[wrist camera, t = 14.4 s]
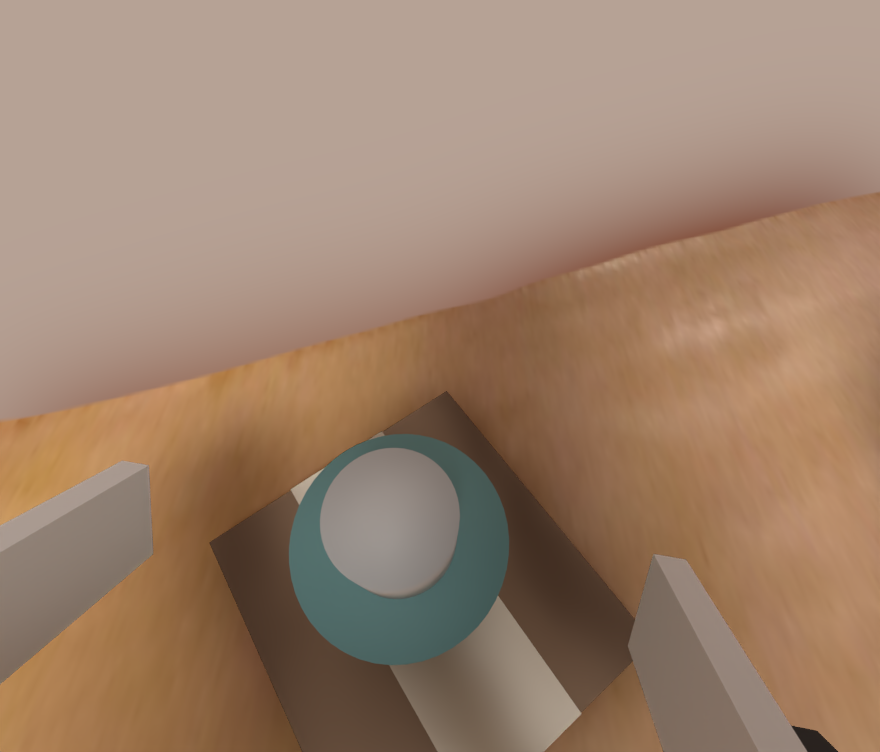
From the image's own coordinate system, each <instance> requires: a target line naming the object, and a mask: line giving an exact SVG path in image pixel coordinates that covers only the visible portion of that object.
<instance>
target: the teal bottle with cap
mask: <svg viewBox="0 0 880 752" xmlns="http://www.w3.org/2000/svg"><path fill="white" fill-rule="evenodd" d="M508 557H509V533H508V524H507V520H506V516H505V511H504V508H503V505H502V503H501V500H500V497H499V495H498V493H497V492H496V490H495V488H494V486H493V484H492V483H491V481H490V480H489V478H488V477H487V475H486V474H485V473H484V472H483V470H482V469H481V468H480V467H479V466H478V465H477V464H476V463H475V462H474V461H473V460H472V459H470V458H469V457H468V456H467V455H466V454H464V453H463V452H461V451H460V450H458V449H457V448H455V447H453V446H451V445H449V444H447V443H445V442H443V441H440V440H437V439H434V438H431V437H426V436H421V435H413V434H393V435H387V436H381V437H377V438H374V439H370V440H367V441H365V442H362V443H360V444H358V445H356V446H354V447H352V448H350V449H348V450H347V451H345V452H343V453H342V454H341V455H339V456H338V457H337V458H335V459H334V460H333V461H332V462H331V463H329V464H328V465H327V466H326V467H325V468H324V469H323V470H322V471H321V472H320V474H319V475H318V476H317V477H316V478H315V479H314V481H313V482H312V484H311V485H310V487H309V488H308V490H307V491H306V493H305V495H304V497H303V499H302V501H301V503H300V505H299V507H298V510H297V513H296V515H295V518H294V522H293V526H292V530H291V535H290V544H289V566H290V573H291V580H292V583H293V587H294V591H295V594H296V596H297V599H298V601H299V603H300V606H301V608H302V610H303V611H304V613H305V615H306V616H307V618H308V620H309V621H310V622H311V624H312V625H313V626H314V627H315V628H316V630H317V631H318V632H319V633H320V634H321V635H322V636H323V637H324V638H325V639H326V640H328V641H329V642H330V643H331V644H332V645H334V646H335V647H337V648H338V649H340V650H341V651H343V652H344V653H347V654H349V655H351V656H353V657H355V658H358V659H360V660H364V661H368V662H371V663H376V664H385V665H406V664H412V663H417V662H422V661H425V660H428V659H431V658H433V657H436V656H439V655H441V654H442V653H444V652H446V651H448V650H450V649H452V648H453V647H455V646H456V645H457V644H459V643H460V642H461V641H463V640H464V639H466V638H467V637H468V636H469V635H470V634H471V633H472V632H473V631H474V630H475V629H476V628H477V627H478V626H479V625H480V623H481V622H482V621H483V619H484V618H485V617H486V616H487V614H488V613H489V611H490V609H491V608H492V606H493V604H494V602H495V601H496V599H497V596H498V594H499V592H500V589H501V587H502V584H503V581H504V577H505V574H506V570H507V564H508Z"/></svg>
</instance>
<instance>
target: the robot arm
mask: <svg viewBox="0 0 880 752" xmlns="http://www.w3.org/2000/svg"><path fill="white" fill-rule="evenodd" d="M151 555H153V539H152V519H151V498H150V478H149V465H144V464H139V463H133V462H127V461H121V462H119V463H117V464H115V465H113V466H111V467H109V468H108V469H106V470H104V471H102V472H100V473H98V474H96V475H94V476H93V477H91V478H89V479H87V480H85V481H83V482H81V483H79V484H78V485H76V486H74V487H72V488H70V489H68V490H66V491H64V492H62V493H61V494H59V495H57V496H55V497H53V498H51V499H49V500H47V501H46V502H44V503H42V504H40V505H38V506H36V507H34V508H32V509H31V510H29V511H27V512H25V513H23V514H21V515H19V516H17V517H15V518H14V519H12V520H10V521H8V522H6V523H4V524H2V525H0V684H1V683H2V682H3V681H5V680H6V679H7V678H8V677H9V676H10V675H12V674H13V673H14V672H15V671H16V670H17V669H19V668H20V667H21V666H22V665H23V664H25V663H26V662H27V661H28V660H29V659H30V658H32V657H33V656H34V655H35V654H36V653H37V652H39V651H40V650H41V649H42V648H43V647H44V646H46V645H47V644H48V643H49V642H50V641H52V640H53V639H54V638H55V637H56V636H57V635H59V634H60V633H61V632H62V631H63V630H64V629H66V628H67V627H68V626H69V625H70V624H72V623H73V622H74V621H75V620H76V619H77V618H79V617H80V616H81V615H82V614H83V613H84V612H86V611H87V610H88V609H89V608H90V607H92V606H93V605H94V604H95V603H96V602H97V601H99V600H100V599H101V598H102V597H103V596H104V595H106V594H107V593H108V592H109V591H110V590H111V589H113V588H114V587H115V586H116V585H117V584H119V583H120V582H121V581H122V580H123V579H124V578H126V577H127V576H128V575H129V574H130V573H131V572H133V571H134V570H135V569H136V568H137V567H139V566H140V565H141V564H142V563H143V562H144V561H146V560H147V559H148V558H149V557H150V556H151ZM628 648H629V651H630V654H631V657H632V660H633V663H634V666H635V669H636V672H637V675H638V678H639V681H640V684H641V686H642V689H643V692H644V695H645V698H646V701H647V704H648V707H649V710H650V713H651V716H652V719H653V722H654V725H655V728H656V731H657V734H658V737H659V740H660V743H661V746H662V749H663V752H838V751H837V750H836V749H835V748H834V747H833V746H832V745H831V744H830V743H829V742H828V741H827V740H826V739H825V738H824V737H823V736H822V735H821V734H820V733H819V732H818V731H815V730H810V729H805V728H800V727H795V726H791V725H790V723H789V722H788V720H787V719H786V717H785V715H784V714H783V712H782V711H781V709H780V707H779V706H778V704H777V703H776V701H775V700H774V698H773V696H772V695H771V693H770V692H769V690H768V688H767V687H766V685H765V684H764V682H763V681H762V679H761V677H760V676H759V674H758V673H757V671H756V669H755V668H754V666H753V665H752V663H751V662H750V660H749V658H748V657H747V655H746V654H745V652H744V650H743V649H742V647H741V646H740V644H739V643H738V641H737V639H736V638H735V636H734V635H733V633H732V631H731V630H730V628H729V627H728V625H727V623H726V622H725V620H724V619H723V617H722V616H721V614H720V612H719V611H718V609H717V608H716V606H715V604H714V603H713V601H712V600H711V598H710V597H709V595H708V593H707V592H706V590H705V589H704V587H703V585H702V584H701V582H700V581H699V579H698V578H697V576H696V574H695V573H694V571H693V570H692V568H691V566H690V565H689V563H688V562H687V560H686V559H680V558H674V557H669V556H663V555H657V554H653V557H652V561H651V564H650V568H649V572H648V575H647V579H646V582H645V586H644V589H643V593H642V597H641V600H640V604H639V607H638V611H637V615H636V618H635V622H634V625H633V629H632V632H631V636H630V640H629V643H628Z"/></svg>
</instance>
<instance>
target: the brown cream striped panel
mask: <svg viewBox="0 0 880 752" xmlns="http://www.w3.org/2000/svg"><path fill="white" fill-rule="evenodd" d="M393 434H413V435H421V436H426V437H431V438H434V439H437V440H440V441H443V442H445V443H447V444H449V445H451V446H453V447H455V448H457V449H458V450H460V451H461V452H463V453H464V454H466V455H467V456H468V457H469V458H470V459H472V460H473V461H474V462H475V463H476V464H477V465H478V466H479V467H480V468H481V469H482V470H483V472H484V473H485V474H486V475H487V477H488V478H489V480H490V481H491V483H492V484H493V486H494V488H495V490H496V492H497V493H498V495H499V497H500V500H501V503H502V505H503V508H504V511H505V516H506V520H507V524H508V533H509V557H508V564H507V570H506V574H505V577H504V581H503V584H502V587H501V589H500V592H499V594H498V596H497V599H496V601H495V602H494V604H493V606H492V608H491V609H490V611H489V613H488V614H487V616H486V617H485V618H484V619H483V621H482V622H481V623H480V625H479V626H478V627H477V628H476V629H475V630H474V631H473V632H472V633H471V634H470V635H469V636H468V637H467V638H466V639H464V640H463V641H461V642H460V643H459V644H457V645H456V646H455V647H453V648H452V649H450V650H448V651H446V652H444V653H442V654H441V655H439V656H436V657H433V658H431V659H428V660H425V661H422V662H417V663H412V664H406V665H385V664H376V663H371V662H368V661H364V660H360V659H358V658H355V657H353V656H351V655H349V654H347V653H344V652H343V651H341V650H340V649H338V648H337V647H335V646H334V645H332V644H331V643H330V642H329V641H328V640H326V639H325V638H324V637H323V636H322V635H321V634H320V633H319V632H318V631H317V630H316V628H315V627H314V626H313V625H312V624H311V622H310V621H309V620H308V618H307V616H306V615H305V613H304V611H303V610H302V608H301V606H300V603H299V601H298V599H297V596H296V594H295V591H294V587H293V583H292V580H291V573H290V566H289V544H290V535H291V530H292V526H293V522H294V518H295V515H296V513H297V510H298V507H299V505H300V503H301V501H302V499H303V497H304V495H305V493H306V491H307V490H308V488H309V487H310V485H311V484H312V482H313V481H314V479H315V478H316V477H317V476H318V475H319V474H320V472H321V471H322V470H323V469H324V468H323V469H322V470H320V471H318V472H317V473H315V474H314V475H312V476H311V477H309V478H307V479H306V480H304V481H303V482H301V483H300V484H298V485H296V486H295V487H293V488H292V489H291V491H289V492H288V493H286V494H285V495H283V496H282V497H280V498H278V499H277V500H275V501H274V502H272V503H271V504H269V505H267V506H266V507H264V508H263V509H261V510H260V511H258V512H256V513H255V514H253V515H252V516H250V517H249V518H247V519H246V520H244V521H242V522H241V523H239V524H238V525H236V526H235V527H233V528H231V529H230V530H228V531H227V532H225V533H224V534H222V535H220V536H219V537H217V538H216V539H214V540H213V541H211V542H210V545H211V547H212V550H213V552H214V554H215V556H216V559H217V561H218V563H219V565H220V568H221V570H222V572H223V574H224V577H225V579H226V581H227V583H228V586H229V588H230V590H231V592H232V595H233V597H234V599H235V601H236V604H237V606H238V608H239V610H240V613H241V615H242V617H243V619H244V622H245V624H246V626H247V628H248V631H249V633H250V635H251V637H252V640H253V642H254V644H255V646H256V649H257V651H258V653H259V655H260V658H261V660H262V662H263V664H264V667H265V669H266V671H267V673H268V676H269V678H270V680H271V682H272V685H273V687H274V689H275V691H276V694H277V696H278V698H279V700H280V703H281V705H282V707H283V709H284V712H285V714H286V716H287V718H288V720H289V723H290V725H291V727H292V729H293V732H294V734H295V736H296V738H297V741H298V743H299V745H300V747H301V750H302V752H544V751H545V750H546V749H547V748H548V747H549V746H550V745H551V744H552V743H553V742H554V741H555V740H556V739H557V738H558V737H559V736H560V735H561V734H562V733H563V732H564V731H565V730H566V729H567V728H568V727H569V726H570V725H571V724H572V723H573V722H574V721H575V720H576V719H577V718H578V717H579V716H580V715H581V714H582V713H581V712H582V711H583V710H584V709H585V708H586V707H587V706H588V705H589V704H590V703H591V702H592V701H593V700H594V699H595V698H596V697H597V696H598V695H599V694H600V693H601V692H602V691H603V690H604V689H605V688H606V687H607V686H608V685H609V684H610V683H611V682H612V681H613V680H614V679H615V678H616V677H617V676H618V675H619V674H620V673H621V672H622V671H623V670H624V669H625V668H626V667H627V666H628V665H629V664H630V663H631V662H632V661H633V660H632V657H631V654H630V651H629V648H628V643H629V640H630V636H631V632H632V629H633V625H634V622H635V619H634V618H633V617H632V616H631V614H630V613H629V612H628V611H627V609H626V608H625V607H624V606H623V605H622V603H621V602H620V601H619V600H618V599H617V597H616V596H615V595H614V594H613V592H612V591H611V590H610V589H609V588H608V586H607V585H606V584H605V583H604V582H603V580H602V579H601V578H600V577H599V575H598V574H597V573H596V572H595V571H594V569H593V568H592V567H591V566H590V565H589V563H588V562H587V561H586V560H585V558H584V557H583V556H582V555H581V554H580V552H579V551H578V550H577V549H576V548H575V546H574V545H573V544H572V543H571V541H570V540H569V539H568V538H567V537H566V535H565V534H564V533H563V532H562V531H561V529H560V528H559V527H558V526H557V524H556V523H555V522H554V521H553V520H552V518H551V517H550V516H549V515H548V514H547V512H546V511H545V510H544V509H543V507H542V506H541V505H540V504H539V503H538V501H537V500H536V499H535V498H534V497H533V495H532V494H531V493H530V492H529V490H528V489H527V488H526V487H525V486H524V484H523V483H522V482H521V481H520V480H519V478H518V477H517V476H516V475H515V474H514V472H513V471H512V470H511V469H510V467H509V466H508V465H507V464H506V463H505V461H504V460H503V459H502V458H501V457H500V455H499V454H498V453H497V452H496V450H495V449H494V448H493V447H492V446H491V444H490V443H489V442H488V441H487V440H486V438H485V437H484V436H483V435H482V433H481V432H480V431H479V430H478V429H477V427H476V426H475V425H474V424H473V423H472V421H471V420H470V419H469V418H468V416H467V415H466V414H465V413H464V412H463V410H462V409H461V408H460V407H459V406H458V404H457V403H456V402H455V401H454V399H453V398H452V397H451V396H450V395H449V393H448V392H447V391H446V392H444V393H443V394H441V395H440V396H438V397H437V398H435V399H433V400H432V401H430V402H429V403H427V404H426V405H424V406H422V407H421V408H419V409H418V410H416V411H415V412H413V413H412V414H410V415H408V416H407V417H405V418H404V419H402V420H401V421H399V422H397V423H396V424H394V425H393V426H391V427H390V428H388V429H386V430H385V431H383V432H382V431H381V432H380V433H378V434H376V435H375V436H373V437H372V438H370V439H374V438H377V437H381V436H387V435H393ZM370 439H369V440H370Z"/></svg>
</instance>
